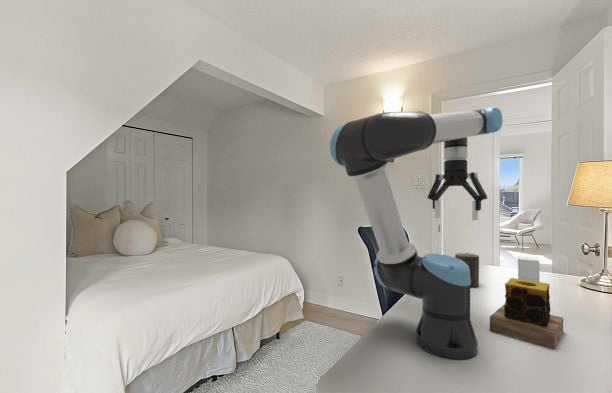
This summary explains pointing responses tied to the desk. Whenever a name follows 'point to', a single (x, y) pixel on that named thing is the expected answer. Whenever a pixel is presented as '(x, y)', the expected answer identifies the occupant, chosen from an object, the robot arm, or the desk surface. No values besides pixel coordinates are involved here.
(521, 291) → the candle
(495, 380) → the desk surface
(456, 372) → the desk surface
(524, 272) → the supplement box
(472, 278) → the pillar candle
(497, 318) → the walnut block
